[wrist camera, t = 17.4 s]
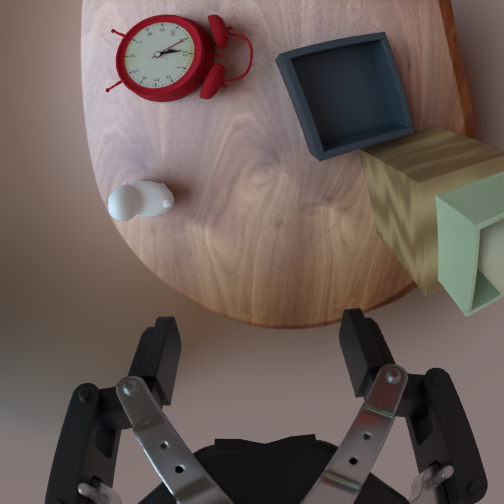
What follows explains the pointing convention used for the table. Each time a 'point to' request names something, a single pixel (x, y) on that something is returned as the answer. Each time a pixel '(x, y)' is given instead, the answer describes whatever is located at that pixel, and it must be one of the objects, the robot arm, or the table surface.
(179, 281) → the table surface
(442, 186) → the stand
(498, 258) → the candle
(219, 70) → the alarm clock
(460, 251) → the pale bin
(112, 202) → the toy creature
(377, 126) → the dark bin
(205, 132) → the table surface
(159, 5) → the table surface
